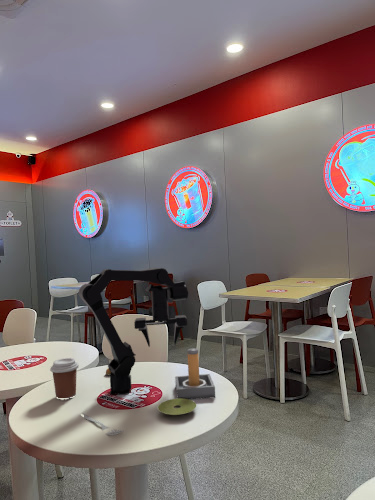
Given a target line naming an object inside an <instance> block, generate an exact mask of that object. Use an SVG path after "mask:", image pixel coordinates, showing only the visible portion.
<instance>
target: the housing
mask: <svg viewBox="0 0 375 500" xmlns="http://www.w3.org/2000/svg"><path fill="white" fill-rule="evenodd" d="M174 378H175V379H174V380H175V381H174V383H175V390H176V391H175V392H176V399H179V398H182V399H189V400H200V399H201V398H202V399H211V398H210V397H214V398H216V386H215V384H214V381H213V379H212V376H211V375H210V373H204V374H203V373H202V374H199V379H200V386H189V375H177V376H175V377H174Z"/></svg>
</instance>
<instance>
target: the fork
mask: <svg viewBox="0 0 375 500" xmlns="http://www.w3.org/2000/svg"><path fill="white" fill-rule="evenodd" d="M84 418H85V419H84ZM84 418H83V419H84V420H86V419H87V421H89V422H93V423H97V424H99V425H100V426H101V430H102V431H105V430H107V429H110V427H109V426H107V425H105V424H104V423H103V422H101V421H98V420H97V419H94V418H92V417H91V416H88V415H87V414H85V415H84ZM123 432H125V430H121V429H114V428H113V429H111V430H109V431H107V432H105V433H104V434H105V435H107V436H116V435H117V434H121V433H123Z"/></svg>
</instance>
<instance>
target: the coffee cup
mask: <svg viewBox="0 0 375 500" xmlns="http://www.w3.org/2000/svg"><path fill="white" fill-rule="evenodd" d="M78 368H79V363H78V362H77V361H76V359H75V358H72V357H65V358H58V359H56V360H54V361H53V364H52V366H50V368H49V370H50V371H49V372H51V373H52V378H53V386H54V390H55V391H54V392H55V398H56V397H58V398H70V397H73V396H75V395H76V396H77V370H78ZM76 396H75V397H76Z"/></svg>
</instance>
